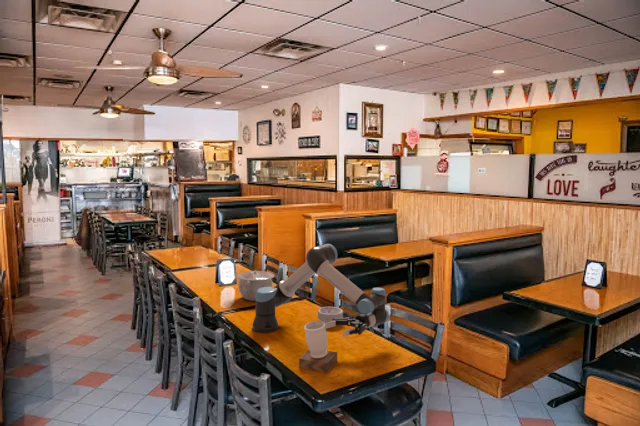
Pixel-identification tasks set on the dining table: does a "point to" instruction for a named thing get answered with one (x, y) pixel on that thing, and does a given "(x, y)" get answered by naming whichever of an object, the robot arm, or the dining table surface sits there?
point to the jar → (316, 338)
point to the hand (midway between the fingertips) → (334, 329)
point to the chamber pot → (253, 283)
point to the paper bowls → (329, 313)
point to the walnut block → (318, 362)
